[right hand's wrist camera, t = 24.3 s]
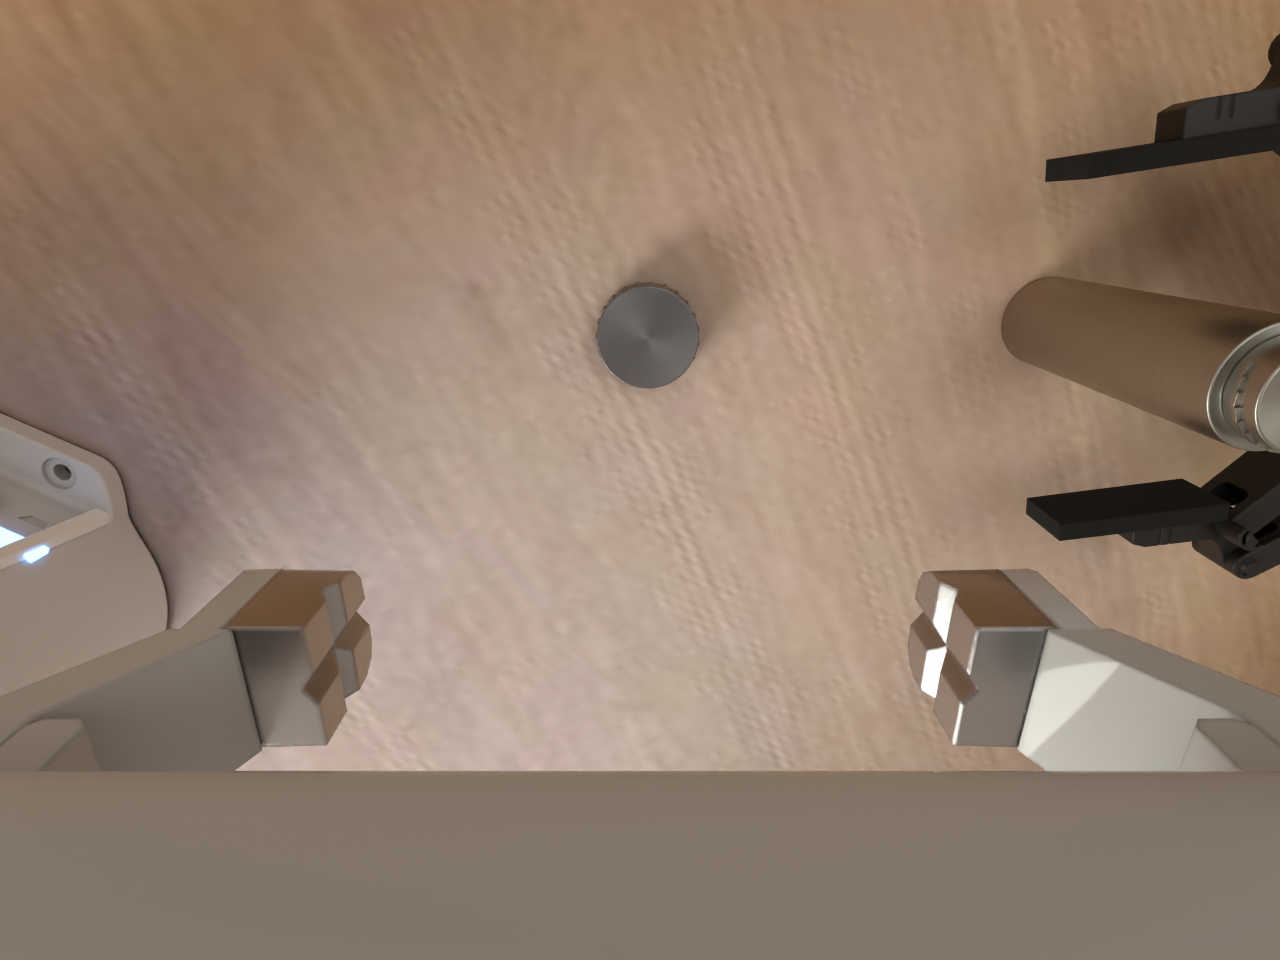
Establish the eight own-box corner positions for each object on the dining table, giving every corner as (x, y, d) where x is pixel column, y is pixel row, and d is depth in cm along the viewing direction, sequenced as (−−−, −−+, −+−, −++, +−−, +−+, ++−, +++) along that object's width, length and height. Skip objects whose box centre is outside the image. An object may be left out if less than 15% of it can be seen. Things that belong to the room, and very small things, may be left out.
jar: (984, 343, 33) (1211, 435, 20) (1033, 262, 32) (1312, 302, 18) (1055, 375, 34) (1323, 487, 20) (1106, 297, 32) (1430, 361, 19)
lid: (717, 345, 34) (720, 352, 32) (635, 400, 35) (634, 409, 33) (661, 260, 32) (661, 262, 31) (577, 320, 33) (574, 325, 32)
